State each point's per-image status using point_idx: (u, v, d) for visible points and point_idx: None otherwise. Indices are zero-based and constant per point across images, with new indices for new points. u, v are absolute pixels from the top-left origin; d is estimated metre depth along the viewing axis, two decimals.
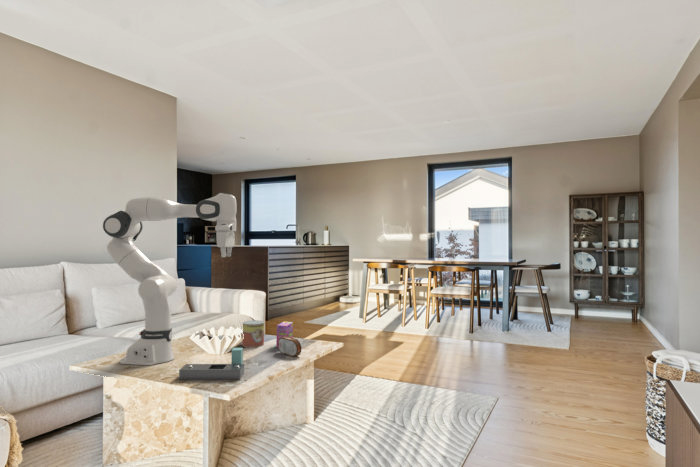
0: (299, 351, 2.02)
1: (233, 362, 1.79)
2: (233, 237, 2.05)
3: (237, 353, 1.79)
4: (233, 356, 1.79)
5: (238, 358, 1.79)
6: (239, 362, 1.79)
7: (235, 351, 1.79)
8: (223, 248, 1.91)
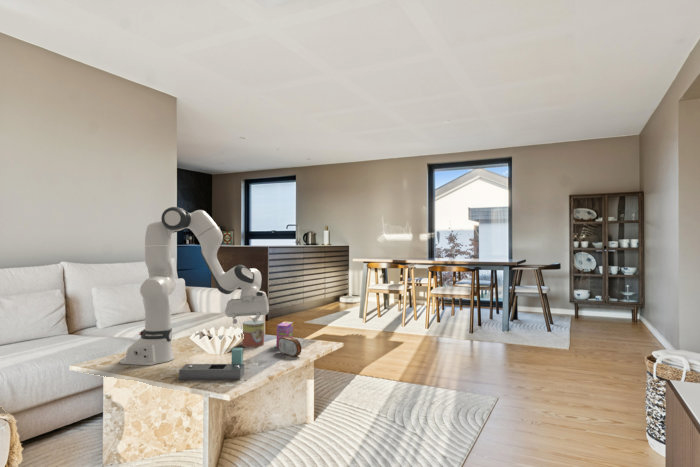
0: (299, 351, 2.02)
1: (233, 362, 1.79)
2: None
3: (237, 353, 1.79)
4: (233, 356, 1.79)
5: (238, 358, 1.79)
6: (239, 362, 1.79)
7: (235, 351, 1.79)
8: (260, 314, 1.96)
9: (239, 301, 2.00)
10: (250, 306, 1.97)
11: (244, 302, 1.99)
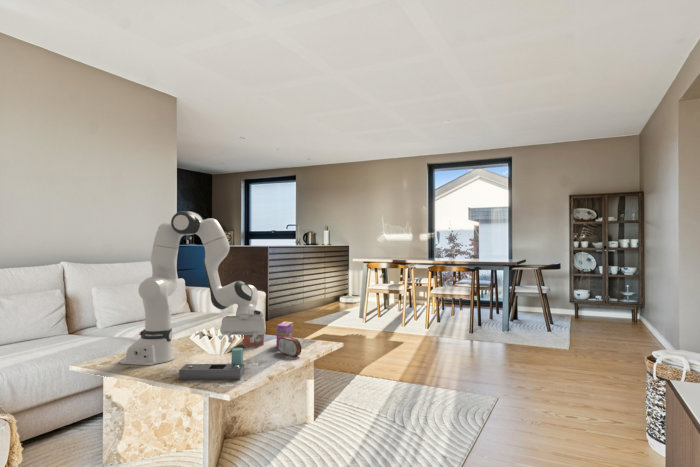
0: (299, 351, 2.02)
1: (233, 362, 1.79)
2: None
3: (237, 353, 1.79)
4: (233, 356, 1.79)
5: (238, 358, 1.79)
6: (239, 362, 1.79)
7: (235, 351, 1.79)
8: (256, 334, 1.91)
9: (235, 319, 1.94)
10: (247, 325, 1.92)
11: (240, 320, 1.94)
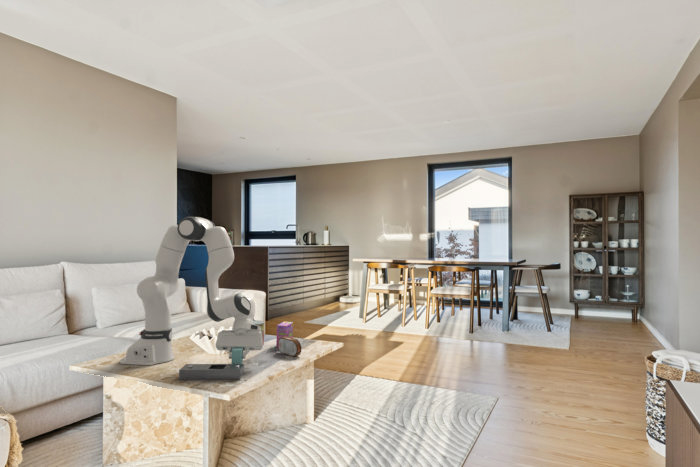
0: (299, 351, 2.02)
1: (233, 362, 1.79)
2: None
3: (237, 353, 1.79)
4: (233, 356, 1.79)
5: (238, 358, 1.79)
6: (239, 362, 1.79)
7: (235, 351, 1.79)
8: None
9: (231, 333, 1.87)
10: (243, 340, 1.85)
11: (237, 335, 1.87)
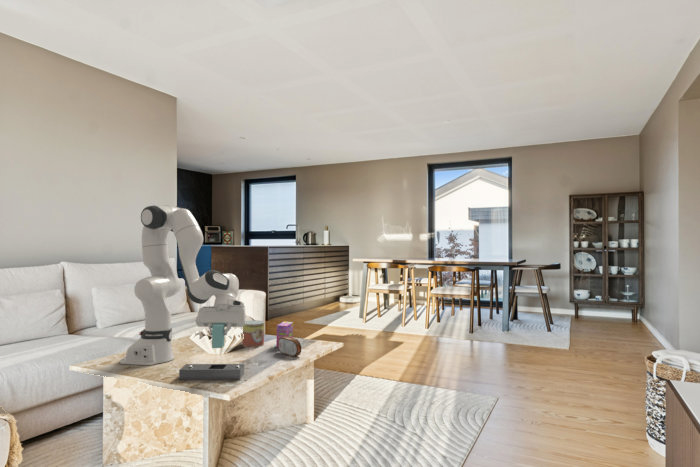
0: (299, 351, 2.02)
1: (214, 338, 1.70)
2: None
3: (218, 329, 1.71)
4: (214, 332, 1.70)
5: (219, 334, 1.71)
6: (220, 338, 1.70)
7: (216, 327, 1.70)
8: (231, 326, 1.75)
9: (213, 309, 1.78)
10: (225, 316, 1.76)
11: (218, 311, 1.78)
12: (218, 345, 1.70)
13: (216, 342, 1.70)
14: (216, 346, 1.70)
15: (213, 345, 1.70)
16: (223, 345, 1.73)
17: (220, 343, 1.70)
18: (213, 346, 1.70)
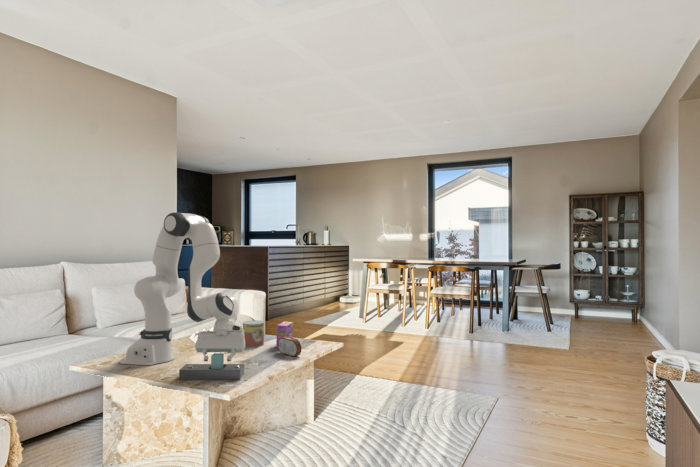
0: (299, 351, 2.02)
1: (213, 368, 1.70)
2: None
3: (217, 359, 1.70)
4: (213, 362, 1.70)
5: (218, 364, 1.70)
6: None
7: (215, 357, 1.70)
8: (235, 352, 1.75)
9: (212, 335, 1.78)
10: (224, 342, 1.76)
11: (218, 336, 1.77)
12: None
13: None
14: None
15: None
16: None
17: None
18: None
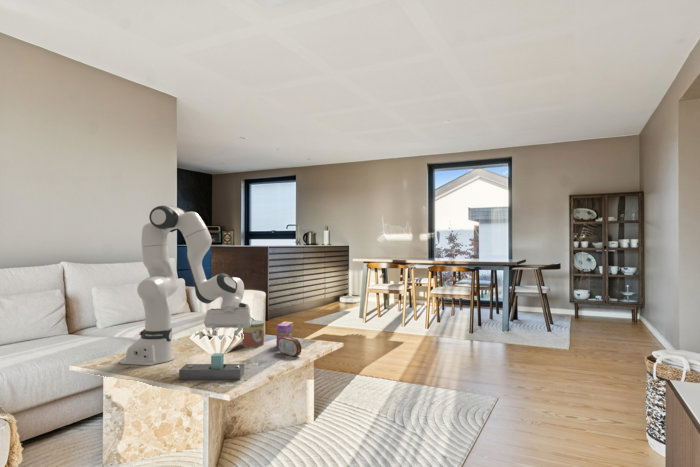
0: (299, 351, 2.02)
1: None
2: None
3: (217, 359, 1.70)
4: (213, 362, 1.70)
5: (218, 364, 1.70)
6: None
7: (215, 357, 1.70)
8: (241, 327, 1.87)
9: (220, 311, 1.90)
10: (232, 318, 1.88)
11: (225, 313, 1.90)
12: None
13: None
14: None
15: None
16: None
17: None
18: None
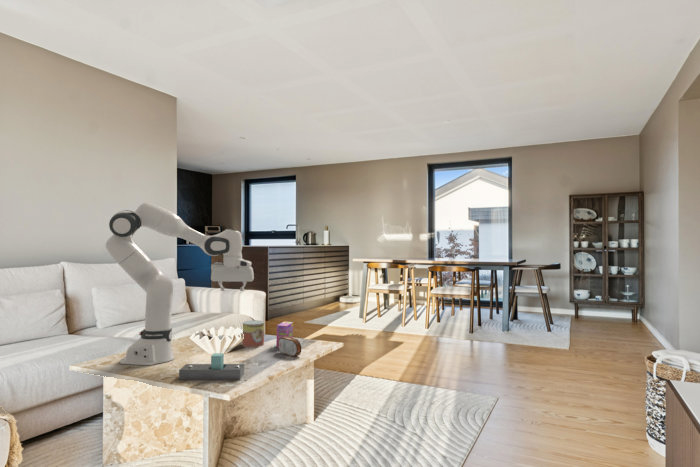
0: (299, 351, 2.02)
1: None
2: None
3: (217, 359, 1.70)
4: (213, 362, 1.70)
5: (218, 364, 1.70)
6: None
7: (215, 357, 1.70)
8: None
9: (223, 268, 2.04)
10: (235, 275, 2.04)
11: (229, 270, 2.04)
12: None
13: None
14: None
15: None
16: None
17: None
18: None
